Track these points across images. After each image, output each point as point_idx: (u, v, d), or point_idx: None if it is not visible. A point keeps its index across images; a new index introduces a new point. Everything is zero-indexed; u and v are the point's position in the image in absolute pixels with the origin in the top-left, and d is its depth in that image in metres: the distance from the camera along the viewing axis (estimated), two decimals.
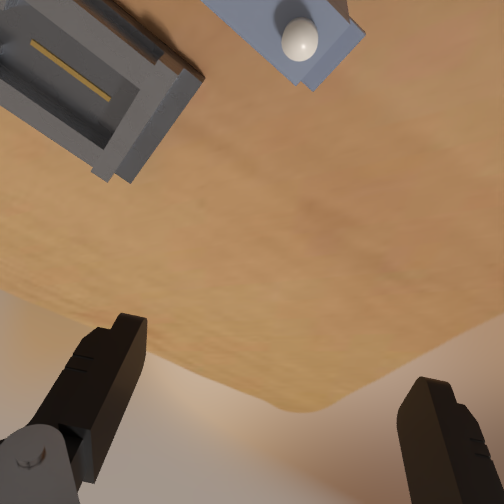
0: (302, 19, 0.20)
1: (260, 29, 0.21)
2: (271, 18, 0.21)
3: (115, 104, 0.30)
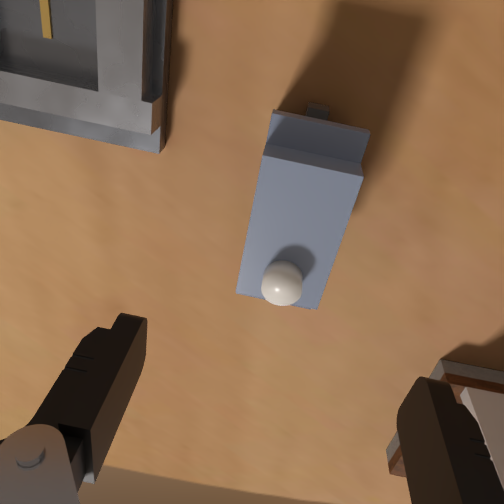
0: (300, 277, 0.19)
1: (267, 239, 0.18)
2: (283, 245, 0.18)
3: (48, 48, 0.20)
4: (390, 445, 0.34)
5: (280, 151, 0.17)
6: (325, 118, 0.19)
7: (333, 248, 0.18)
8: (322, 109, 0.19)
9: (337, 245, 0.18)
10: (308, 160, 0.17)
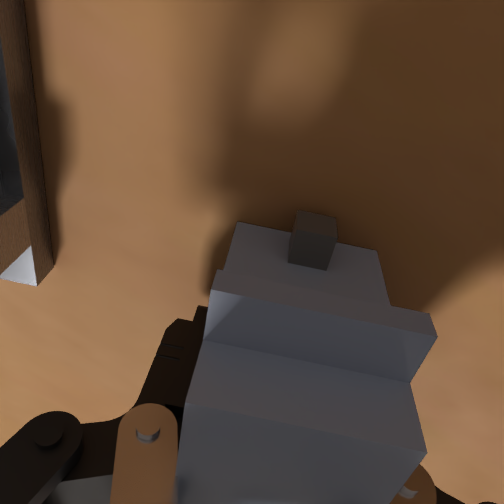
0: None
1: None
2: None
3: None
4: None
5: (232, 371, 0.07)
6: (330, 248, 0.10)
7: None
8: (324, 232, 0.10)
9: None
10: (295, 400, 0.07)
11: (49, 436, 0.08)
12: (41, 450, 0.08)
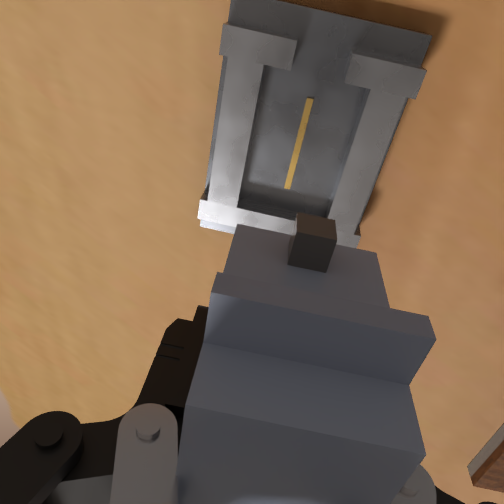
0: None
1: None
2: None
3: (284, 193, 0.28)
4: (472, 463, 0.43)
5: (231, 373, 0.07)
6: (329, 250, 0.10)
7: None
8: (323, 234, 0.10)
9: None
10: (294, 402, 0.07)
11: (49, 436, 0.08)
12: (41, 450, 0.08)
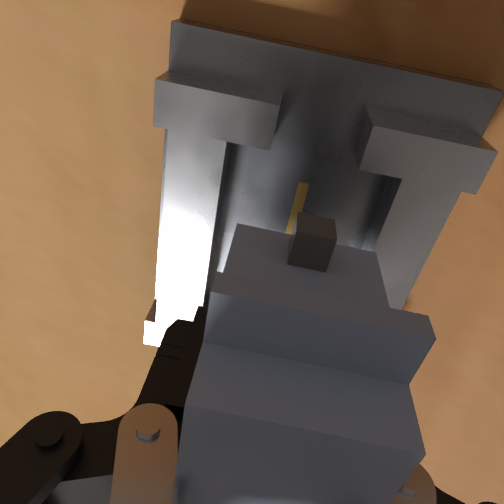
0: None
1: None
2: None
3: None
4: None
5: (231, 373, 0.07)
6: (329, 250, 0.10)
7: None
8: (323, 234, 0.10)
9: None
10: (294, 401, 0.07)
11: (49, 436, 0.08)
12: (41, 450, 0.08)
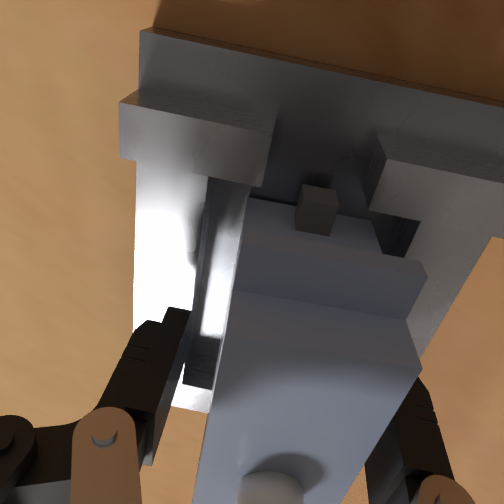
0: (301, 503, 0.11)
1: (241, 446, 0.10)
2: (270, 453, 0.10)
3: None
4: None
5: (259, 312, 0.09)
6: (332, 216, 0.12)
7: (357, 459, 0.10)
8: (327, 201, 0.12)
9: (364, 455, 0.10)
10: (314, 332, 0.09)
11: None
12: None
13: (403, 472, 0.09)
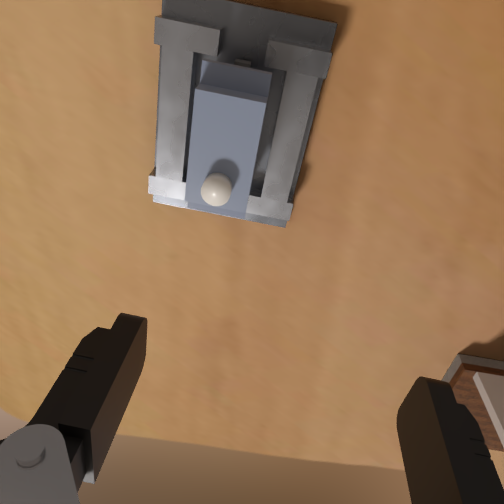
0: (229, 184, 0.25)
1: (204, 155, 0.25)
2: (216, 159, 0.25)
3: None
4: None
5: (209, 87, 0.24)
6: None
7: (251, 160, 0.25)
8: (245, 63, 0.26)
9: (254, 158, 0.25)
10: (228, 93, 0.23)
11: None
12: None
13: None
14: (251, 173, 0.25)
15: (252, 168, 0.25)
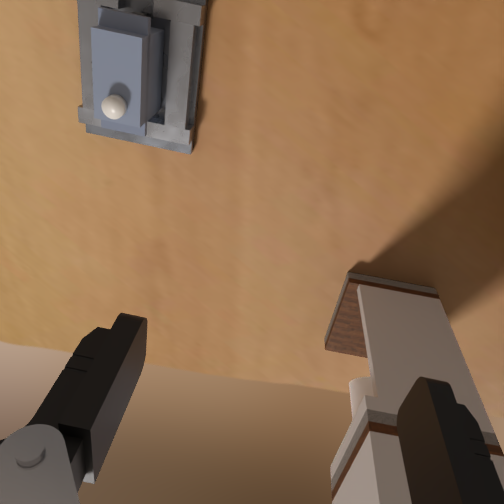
0: (123, 102, 0.34)
1: (103, 80, 0.34)
2: (112, 83, 0.34)
3: None
4: (326, 334, 0.56)
5: (103, 27, 0.33)
6: None
7: (138, 84, 0.34)
8: (139, 13, 0.35)
9: (139, 82, 0.34)
10: (116, 31, 0.32)
11: None
12: None
13: None
14: (139, 94, 0.34)
15: (139, 90, 0.34)
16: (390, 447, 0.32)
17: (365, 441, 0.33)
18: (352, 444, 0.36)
